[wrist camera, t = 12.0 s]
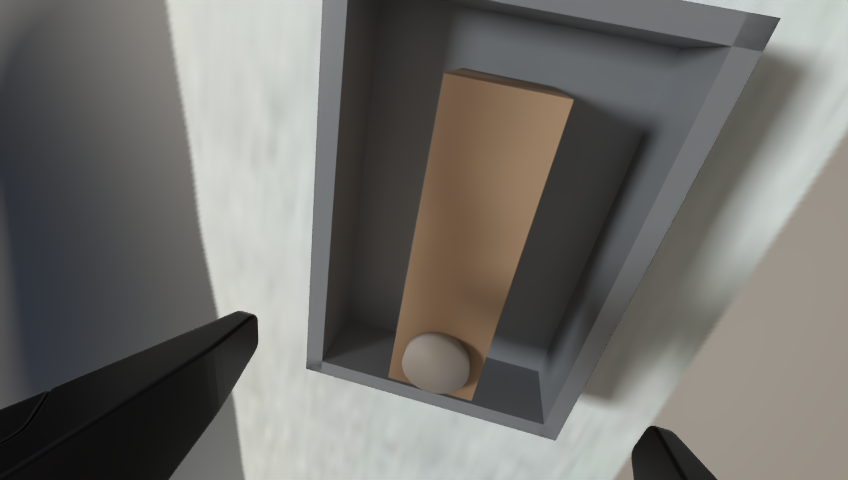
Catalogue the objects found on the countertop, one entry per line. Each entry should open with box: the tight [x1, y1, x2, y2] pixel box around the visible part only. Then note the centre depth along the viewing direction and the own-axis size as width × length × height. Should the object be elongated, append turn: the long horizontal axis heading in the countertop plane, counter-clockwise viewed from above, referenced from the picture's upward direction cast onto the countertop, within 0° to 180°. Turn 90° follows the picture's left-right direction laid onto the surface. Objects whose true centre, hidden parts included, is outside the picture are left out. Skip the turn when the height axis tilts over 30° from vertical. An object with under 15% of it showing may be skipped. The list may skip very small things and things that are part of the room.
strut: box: [388, 68, 574, 401], centre depth 15 cm, size 4×12×6 cm, turn 170°
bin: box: [306, 0, 781, 440], centre depth 16 cm, size 18×13×4 cm
